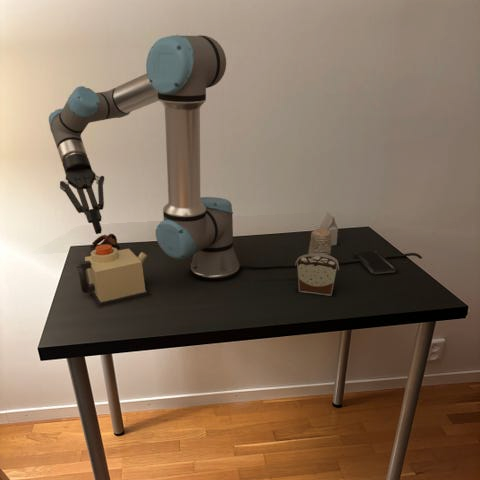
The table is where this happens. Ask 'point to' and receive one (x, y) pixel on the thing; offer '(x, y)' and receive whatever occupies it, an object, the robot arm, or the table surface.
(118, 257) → the kettle
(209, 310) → the table surface
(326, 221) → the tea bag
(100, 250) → the button
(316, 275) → the food container
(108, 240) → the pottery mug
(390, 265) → the phone
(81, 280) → the kettle handle and spout
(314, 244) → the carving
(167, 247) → the robot arm
